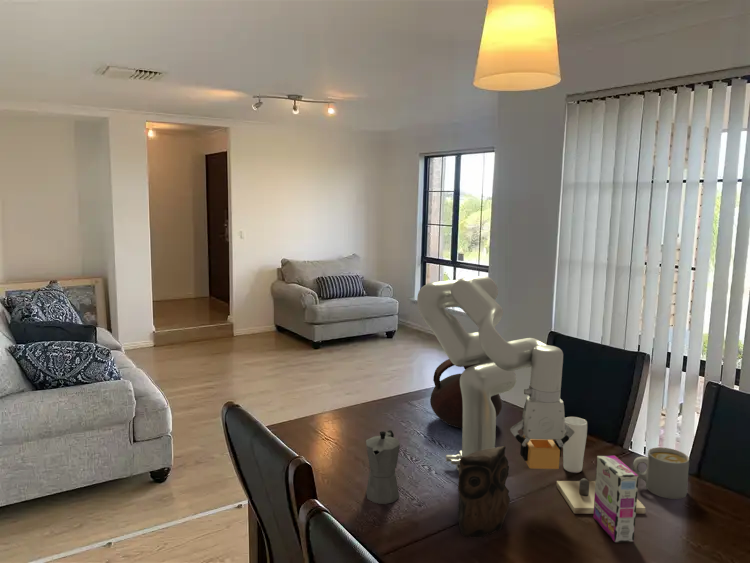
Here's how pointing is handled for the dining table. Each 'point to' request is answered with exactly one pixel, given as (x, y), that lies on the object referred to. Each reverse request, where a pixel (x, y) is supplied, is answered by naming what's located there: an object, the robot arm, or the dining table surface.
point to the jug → (452, 396)
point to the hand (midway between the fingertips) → (540, 458)
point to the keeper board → (583, 496)
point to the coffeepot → (382, 468)
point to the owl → (483, 492)
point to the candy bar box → (615, 498)
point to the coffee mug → (665, 472)
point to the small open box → (543, 454)
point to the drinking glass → (575, 445)
